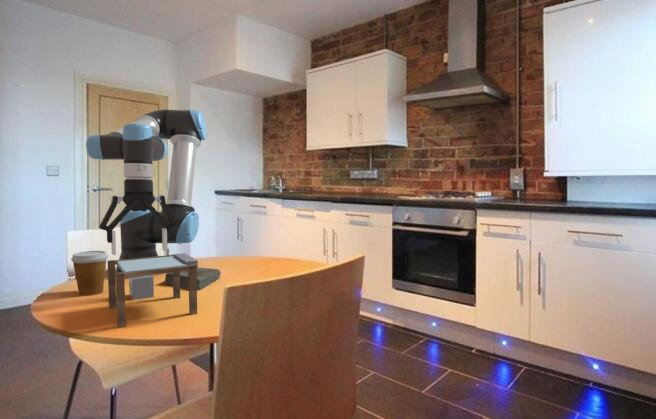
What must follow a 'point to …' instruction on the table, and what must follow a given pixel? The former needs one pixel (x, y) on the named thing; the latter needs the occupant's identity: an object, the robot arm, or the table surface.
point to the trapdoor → (157, 263)
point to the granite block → (141, 287)
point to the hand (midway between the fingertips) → (140, 252)
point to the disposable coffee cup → (90, 271)
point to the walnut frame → (118, 283)
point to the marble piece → (203, 277)
